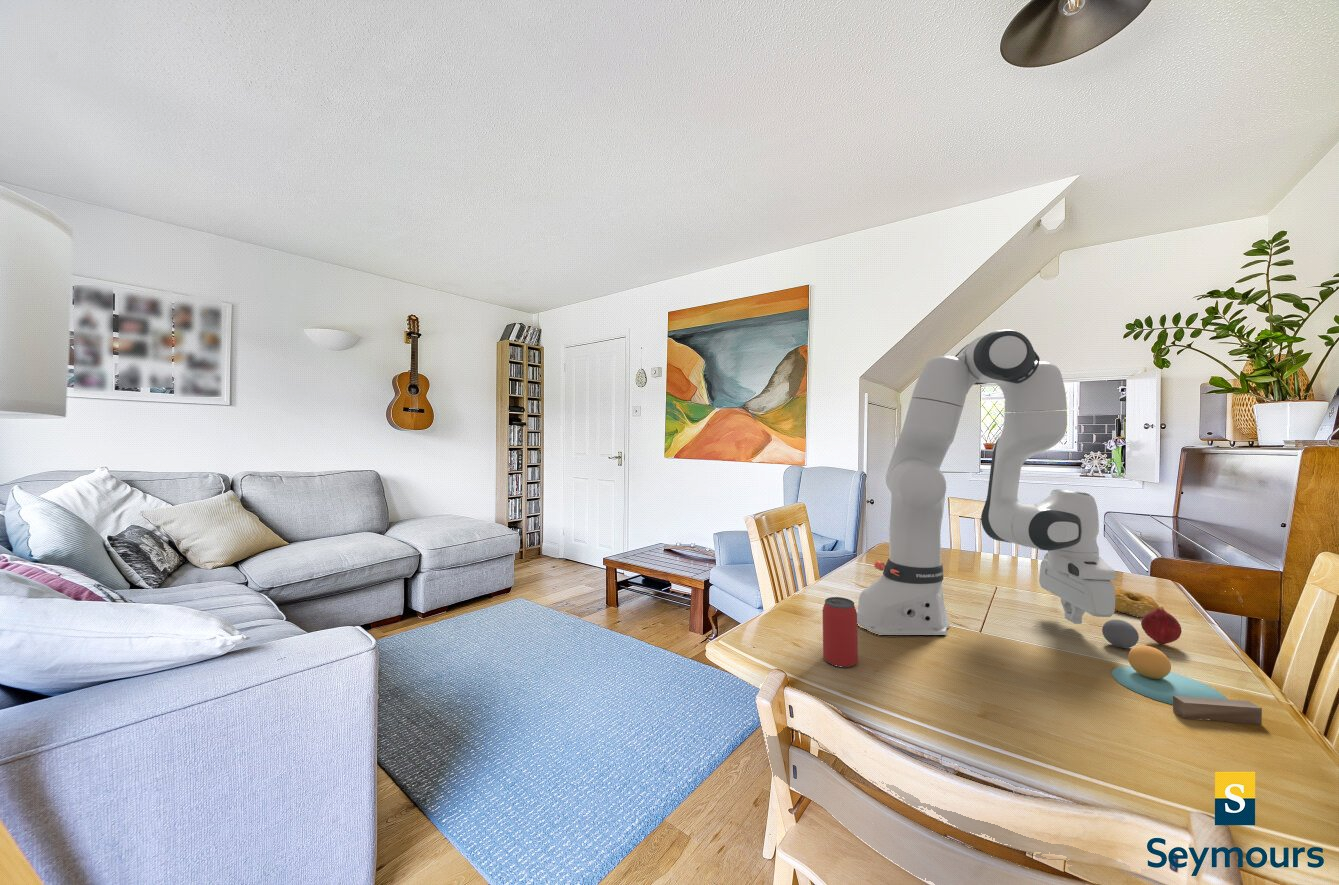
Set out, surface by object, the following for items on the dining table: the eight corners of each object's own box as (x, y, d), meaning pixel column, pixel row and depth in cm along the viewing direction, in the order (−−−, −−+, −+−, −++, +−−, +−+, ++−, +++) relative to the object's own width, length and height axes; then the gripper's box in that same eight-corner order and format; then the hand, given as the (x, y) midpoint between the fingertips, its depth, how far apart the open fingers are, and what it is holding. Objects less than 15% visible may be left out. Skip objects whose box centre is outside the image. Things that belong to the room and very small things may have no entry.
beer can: (832, 650, 99) (831, 593, 99) (863, 660, 94) (862, 601, 94) (817, 661, 94) (816, 601, 94) (848, 672, 90) (848, 610, 90)
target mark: (1184, 714, 75) (1184, 713, 75) (1091, 671, 88) (1091, 670, 88) (1253, 704, 77) (1253, 703, 77) (1152, 663, 91) (1152, 662, 91)
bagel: (1119, 617, 113) (1119, 597, 113) (1097, 602, 124) (1097, 584, 124) (1173, 623, 110) (1173, 602, 110) (1146, 607, 120) (1146, 588, 120)
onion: (1189, 651, 95) (1189, 612, 95) (1156, 649, 96) (1155, 610, 96) (1165, 639, 101) (1165, 602, 101) (1134, 637, 102) (1134, 600, 102)
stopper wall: (1261, 724, 72) (1261, 708, 72) (1184, 718, 74) (1184, 702, 74) (1248, 716, 74) (1248, 700, 74) (1173, 711, 76) (1173, 695, 76)
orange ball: (1124, 638, 90) (1125, 667, 90) (1131, 648, 85) (1132, 679, 85) (1165, 644, 87) (1166, 674, 87) (1175, 655, 82) (1176, 687, 82)
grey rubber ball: (1124, 611, 99) (1093, 618, 102) (1130, 627, 94) (1098, 634, 98) (1141, 632, 98) (1110, 639, 102) (1148, 650, 94) (1115, 656, 97)
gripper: (1031, 549, 118) (1031, 604, 118) (1087, 573, 98) (1087, 639, 98) (1059, 550, 117) (1060, 605, 117) (1122, 574, 96) (1122, 641, 97)
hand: (1073, 621), depth 107 cm, fingers closed
